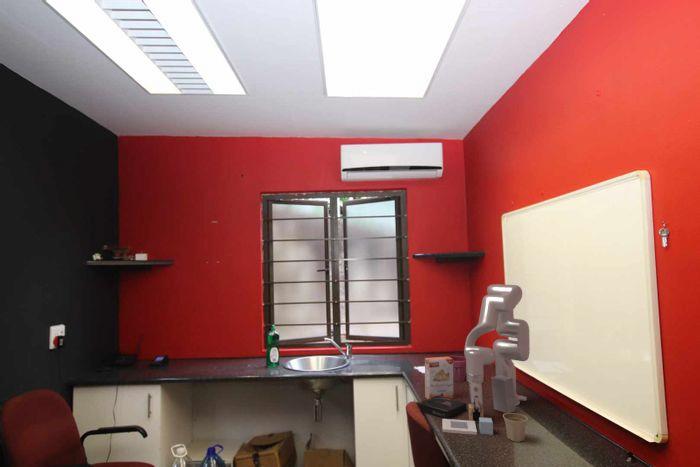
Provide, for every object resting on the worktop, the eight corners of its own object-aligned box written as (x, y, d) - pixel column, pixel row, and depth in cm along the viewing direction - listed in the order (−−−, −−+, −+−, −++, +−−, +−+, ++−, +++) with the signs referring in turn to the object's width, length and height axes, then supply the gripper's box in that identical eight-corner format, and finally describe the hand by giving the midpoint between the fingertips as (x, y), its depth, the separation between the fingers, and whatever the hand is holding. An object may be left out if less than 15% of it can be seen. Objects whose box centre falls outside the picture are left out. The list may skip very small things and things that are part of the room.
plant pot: (469, 383, 245) (469, 361, 246) (445, 382, 248) (445, 360, 249) (468, 376, 259) (467, 356, 260) (444, 375, 262) (444, 355, 263)
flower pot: (522, 433, 173) (521, 412, 174) (532, 443, 164) (531, 421, 164) (499, 434, 173) (499, 413, 173) (509, 444, 163) (508, 421, 164)
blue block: (491, 430, 177) (491, 418, 178) (493, 434, 172) (492, 422, 173) (479, 429, 178) (479, 417, 179) (480, 433, 173) (480, 421, 174)
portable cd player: (466, 411, 201) (466, 403, 201) (447, 420, 189) (447, 411, 189) (437, 403, 212) (437, 395, 213) (417, 411, 200) (417, 403, 201)
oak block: (482, 417, 191) (482, 404, 191) (483, 422, 185) (483, 409, 185) (468, 417, 192) (468, 403, 193) (469, 421, 186) (469, 408, 187)
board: (474, 423, 184) (474, 420, 184) (477, 434, 172) (477, 431, 172) (442, 421, 187) (442, 418, 187) (442, 432, 175) (442, 428, 175)
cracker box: (429, 401, 214) (429, 360, 215) (424, 397, 219) (424, 357, 221) (454, 399, 217) (453, 358, 219) (448, 395, 223) (447, 355, 225)
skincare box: (516, 411, 198) (514, 377, 199) (505, 414, 195) (504, 380, 196) (501, 406, 206) (500, 373, 207) (491, 409, 202) (490, 375, 203)
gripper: (485, 383, 181) (486, 426, 179) (481, 373, 198) (482, 412, 196) (467, 382, 182) (468, 424, 181) (465, 372, 199) (466, 410, 198)
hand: (476, 417), depth 189 cm, fingers closed on oak block, 6 cm apart
